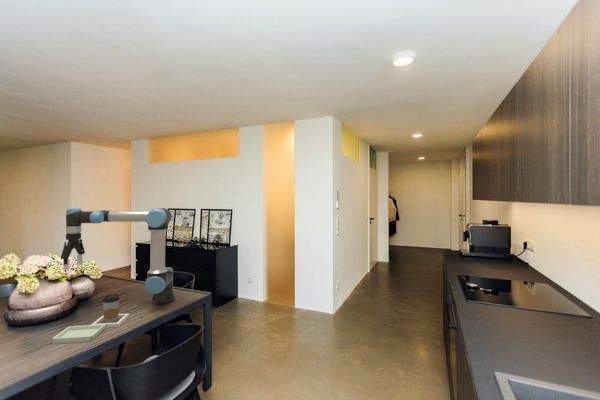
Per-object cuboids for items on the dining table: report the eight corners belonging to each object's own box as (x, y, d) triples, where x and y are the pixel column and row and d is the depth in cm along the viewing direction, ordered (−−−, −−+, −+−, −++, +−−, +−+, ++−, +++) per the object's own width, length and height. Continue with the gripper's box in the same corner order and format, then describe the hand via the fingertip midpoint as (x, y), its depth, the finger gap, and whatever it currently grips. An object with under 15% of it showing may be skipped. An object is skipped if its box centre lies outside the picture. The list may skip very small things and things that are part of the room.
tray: (105, 328, 156) (105, 324, 156) (91, 341, 142) (91, 336, 142) (68, 330, 153) (68, 326, 153) (50, 343, 139) (50, 339, 139)
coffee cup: (100, 326, 158) (101, 299, 158) (103, 321, 165) (103, 295, 165) (118, 324, 162) (119, 297, 162) (120, 318, 169) (120, 293, 169)
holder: (129, 316, 172) (129, 313, 172) (118, 327, 158) (118, 323, 158) (103, 318, 169) (103, 314, 169) (90, 328, 156) (90, 325, 156)
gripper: (78, 230, 189) (78, 262, 190) (53, 235, 165) (52, 272, 165) (91, 230, 191) (90, 262, 191) (67, 235, 166) (67, 271, 166)
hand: (73, 267), depth 178 cm, fingers open, 13 cm apart
